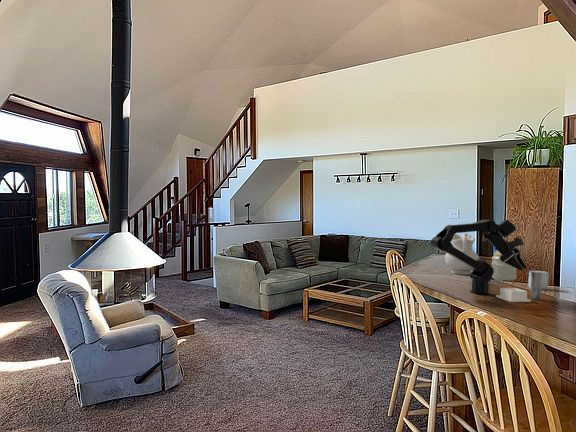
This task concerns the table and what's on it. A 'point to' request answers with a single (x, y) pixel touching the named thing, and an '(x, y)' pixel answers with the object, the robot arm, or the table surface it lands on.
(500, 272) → the jar
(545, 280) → the medicine box
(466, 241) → the ceramic pitcher
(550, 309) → the table surface
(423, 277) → the table surface
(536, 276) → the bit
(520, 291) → the socket
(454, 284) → the table surface
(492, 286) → the table surface
